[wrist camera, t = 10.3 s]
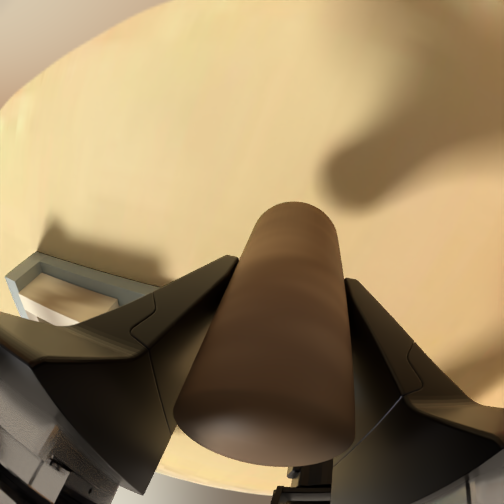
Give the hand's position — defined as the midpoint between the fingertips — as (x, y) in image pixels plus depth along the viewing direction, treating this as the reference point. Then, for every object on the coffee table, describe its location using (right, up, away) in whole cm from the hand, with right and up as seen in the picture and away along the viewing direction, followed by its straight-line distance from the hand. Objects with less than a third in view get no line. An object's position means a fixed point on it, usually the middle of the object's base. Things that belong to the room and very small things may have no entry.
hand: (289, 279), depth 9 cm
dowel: (+1, +1, +2) cm, 3 cm away
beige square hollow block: (-14, -5, +11) cm, 19 cm away
